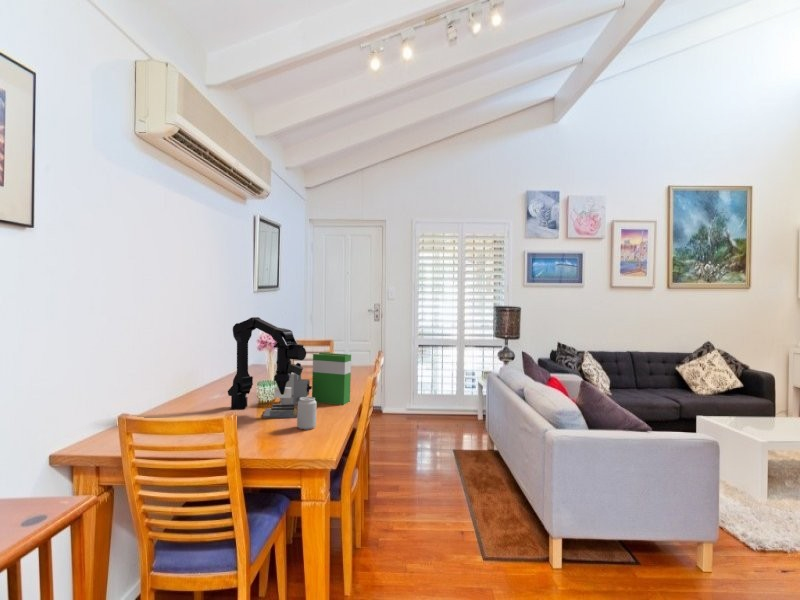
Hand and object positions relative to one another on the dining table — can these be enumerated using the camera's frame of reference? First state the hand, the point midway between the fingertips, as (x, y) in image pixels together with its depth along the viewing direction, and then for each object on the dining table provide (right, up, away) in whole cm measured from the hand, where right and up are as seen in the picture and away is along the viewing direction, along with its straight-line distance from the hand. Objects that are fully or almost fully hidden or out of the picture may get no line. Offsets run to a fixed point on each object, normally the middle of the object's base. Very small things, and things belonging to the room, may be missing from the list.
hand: (282, 393), depth 198 cm
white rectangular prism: (0, -2, 0) cm, 2 cm away
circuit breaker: (0, -10, +24) cm, 26 cm away
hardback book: (+17, -10, +29) cm, 35 cm away
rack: (-1, -10, +3) cm, 10 cm away
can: (+14, -10, -17) cm, 24 cm away
